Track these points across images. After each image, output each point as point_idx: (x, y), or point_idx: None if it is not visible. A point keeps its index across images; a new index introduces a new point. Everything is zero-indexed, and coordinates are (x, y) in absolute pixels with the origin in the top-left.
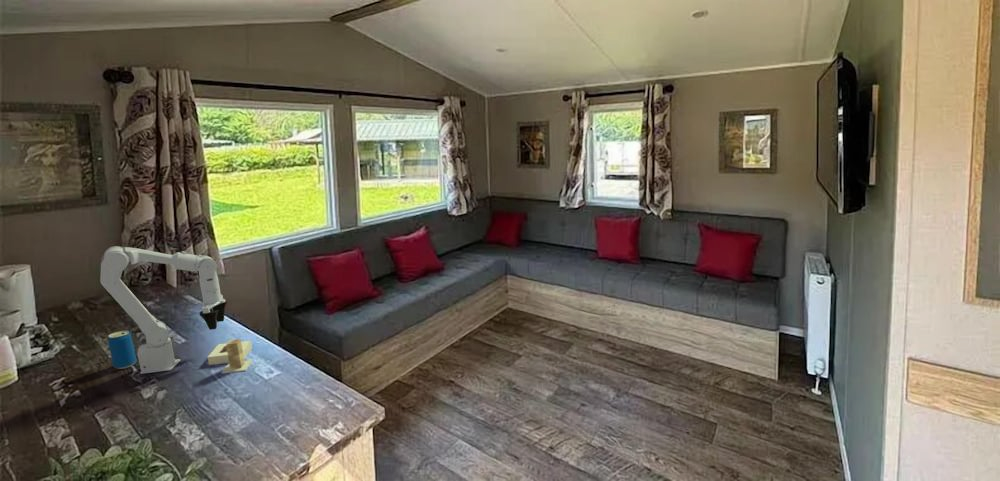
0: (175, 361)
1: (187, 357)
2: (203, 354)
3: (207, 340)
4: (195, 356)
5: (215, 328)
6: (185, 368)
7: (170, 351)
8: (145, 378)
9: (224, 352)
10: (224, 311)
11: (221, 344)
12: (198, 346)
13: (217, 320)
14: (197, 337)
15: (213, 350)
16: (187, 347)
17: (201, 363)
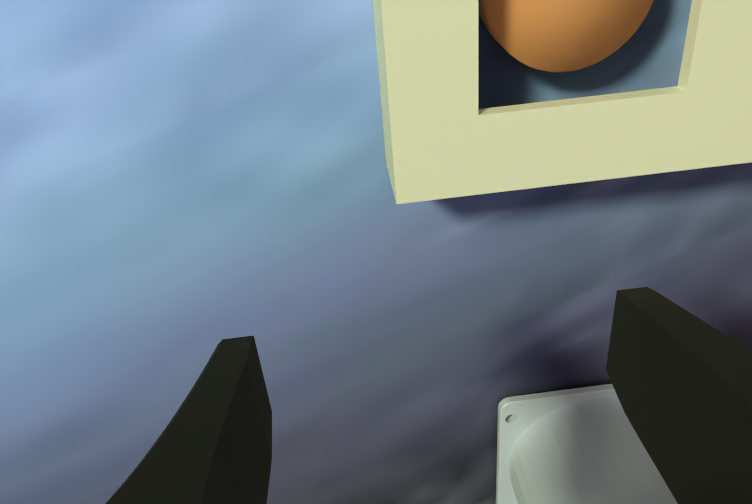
0: (542, 414)
1: (448, 377)
2: (417, 287)
3: (90, 394)
4: (445, 330)
5: (660, 294)
6: (676, 295)
7: (662, 497)
8: None
9: (704, 12)
10: (154, 463)
11: (417, 166)
12: None
13: (269, 424)
14: (27, 491)
15: (580, 179)
16: None
17: (625, 214)
